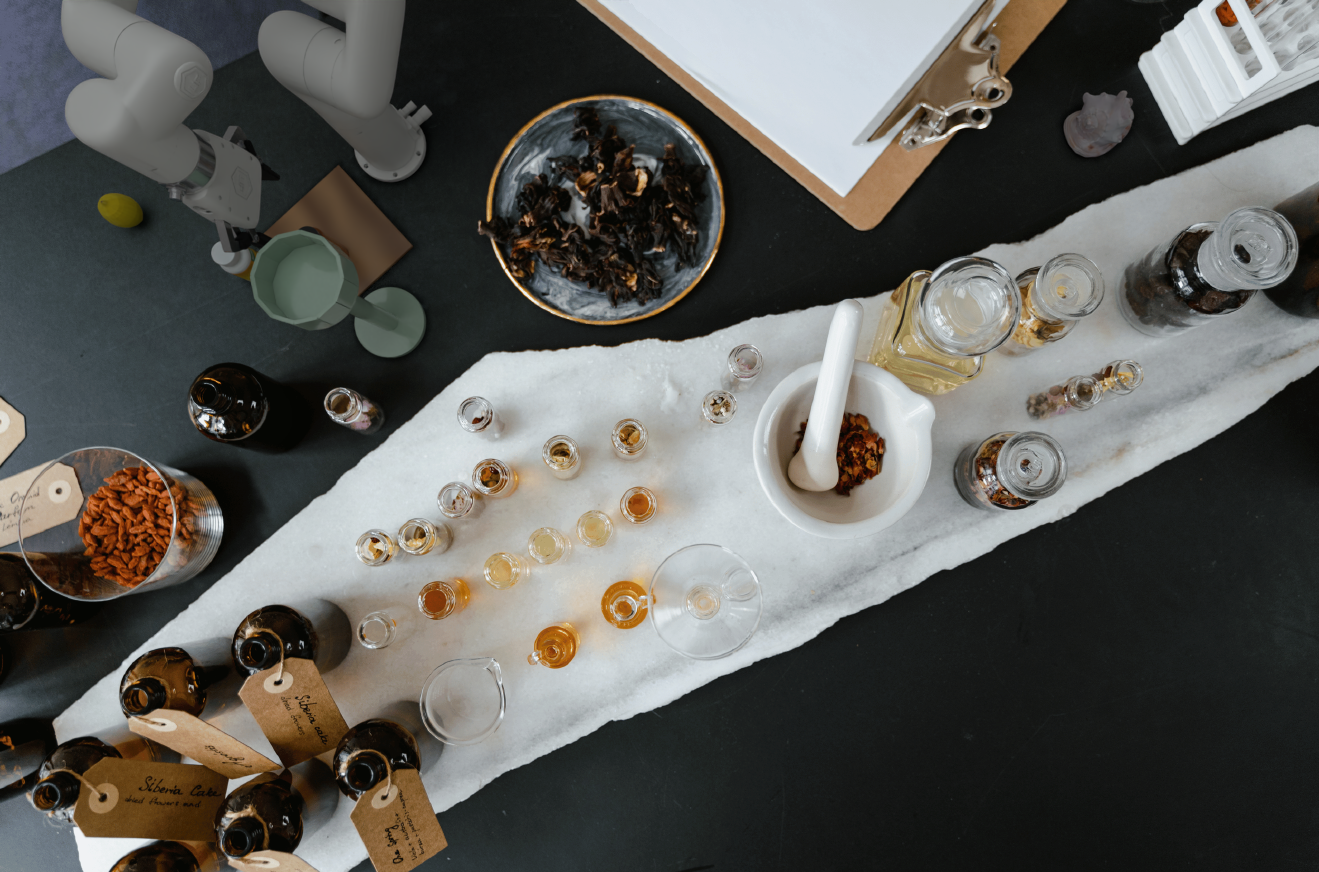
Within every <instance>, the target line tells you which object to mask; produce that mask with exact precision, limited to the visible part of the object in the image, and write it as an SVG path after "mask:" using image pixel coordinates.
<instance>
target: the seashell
mask: <svg viewBox="0 0 1319 872" xmlns="http://www.w3.org/2000/svg"><path fill="white" fill-rule="evenodd" d="M1127 95H1128V91H1127V90H1121V91H1120V92H1118V94H1117V95H1114V94H1108V93H1106V92H1105V91H1104V92H1101V93H1100V94H1097V95H1094V94H1090V93H1089V92H1085V93H1084V94H1083V95H1082V101H1083V106H1082V107H1081V109H1080V110H1076V111H1074V112H1072V113H1071V114H1070V115H1068V116H1067V117H1066V119H1065V120H1064V122H1063V133H1064V136H1065V140H1066V142H1067V144H1068V145H1069V148H1071V149H1072V151H1073V152H1074V153H1075V154H1077V155H1079V156H1081V157H1084V158H1097V157H1100V156H1103V155H1104V154H1106V153H1108V152H1109V151H1111V150H1112V149H1113V148H1114V147H1115V146H1116V145H1118V144H1120V143H1122V141H1123V140H1124V139H1125V137H1126V136H1127V135H1128V133H1130V130H1131V127H1132V124H1133V120H1134V118H1135V114H1134V111H1133V109H1132V106H1133V103H1134V100H1133V98H1132V97H1127Z"/></svg>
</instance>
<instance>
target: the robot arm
mask: <svg viewBox="0 0 1319 872" xmlns="http://www.w3.org/2000/svg"><path fill="white" fill-rule="evenodd" d="M299 1H300V2H302V3H304V4H306V5H307V6H309V7H311V8H314V9H316V10H317V11H320V12H321V13H324V14H326V15H328V16H330V17H333V18H335V19H337V20H339V21H341V22H343V23H345V32H344V31H342V30H340V29H339V28H336V27H335V26H333V25H330V24H328V23H326V22H325V21H322V20H320V19H318V18H315V17H313V16H310V15H308V14H306V13H303V12H299V11H295V10H289V9H287V10H286V9H285V10H278V11H275V12H273V13H270V14H269V15H268V16H267V17H266V18H265V19H264V20H263V21H262V23H261V25H260V27H259V30H258V35H257V46H258V51H259V56H260V57H261V60H262V63H263V64H264V66H265V68H266V69H267V70H268V72H269V74H270V75H271V76H272V77H273V78H274V79H275V80H276V81H277V82H278V83H279V84H280V85H282V86H283V87H284V88H285V89H287V90H288V91H289V92H290V93H292V94H293V95H295V96H296V97H297V98H298V99H300V100H301V101H302V102H304V103H306V105H308V106H309V107H310V109H313V110H314V112H315V113H317V114H318V115H319V116H320V117H321V118H322V119H323V120H324V121H325V122H326V123H327V124H328V125H329V126H330V127H331V128H332V129H333V130H334V131H335V132H336V133H337V134H339V135H340V136H341V137H342V139H343V140H344V141H346V143H348V145H350V146H351V147H352V148H353V149H354V155H355V159H356V161H357V164H359V166H360V168H361V169H362V170H363V171H364V173H366V174H367V175H369V176H370V177H371V178H373V179H375V180H377V181H380V182H383V183H396V182H400V181H403V180H406V179H407V178H409V177H411V176H412V175H413V174H415V173H416V172H417V171H418V170H419V168H420V167H421V166H422V164H423V162H424V160H425V157H426V153H427V141H426V135H425V134H424V131H423V129H422V128H421V125H422V124H423V123H424V122H426V121H427V120H428V119H429V118H430V117H432V116H433V113H432V111H431V110H430V109H429V107H428V106H427V105H426V104H424V105H422V106H421V107H419V109H418V110H416V109H417V108H418V106H417V104H415V103H414V102H413V101H412V100H410V101H409V102H408V103H406V104H405V106H404V107H403V108H399V109H397V108H396V107H395V106H394V105H393V104H391V99H392V97H393V93H394V88H395V83H396V76H397V70H398V64H399V63H398V62H399V57H400V50H401V45H402V44H401V43H402V37H403V29H404V23H405V14H406V0H299ZM138 5H139V0H62V2H61V9H60V10H61V11H60V26H61V32H62V36H63V40H64V43H65V45H66V47H67V49H68V50H69V52H70V53H71V55H72V56H73V57H74V58H75V59H76V60H77V61H78V62H79V63H80V64H81V65H83V66H84V67H85V68H87V69H89V70H90V71H92V72H93V73H95V74H98V75H100V76H101V77H95V78H89V79H86V80H83V81H82V82H80V83H78V84H77V85H76V86H75V87H74V88H73V89H72V90H71V91H70V92H69V94H68V96H67V99H66V101H65V104H64V105H65V106H64V116H65V121H66V124H67V126H68V128H69V130H70V131H71V133H72V134H73V135H74V136H75V138H77V139H78V140H79V141H80V142H81V143H82V144H84V145H86V147H89V148H91V149H92V150H94V151H96V152H98V153H100V154H101V155H104V156H106V157H108V158H110V159H112V160H114V161H116V162H117V163H120V164H122V165H124V166H126V167H128V168H130V169H131V170H134V171H135V172H137V173H140V174H141V175H143V176H145V177H147V178H149V179H151V180H153V181H155V182H157V184H158V185H159V186H161V187H163V188H165V189H166V190H167V193H168V195H169V197H168V199H169V201H170V200H171V201H173V202H176V203H183V204H184V205H185V206H186V207H188V208H189V209H191V210H192V211H193V212H195V213H196V214H198V215H200V216H201V217H203V218H205V219H206V220H208V221H210V222H211V223H213V224H215V226H216V229H217V234H218V237H219V242H220V241H221V245H222V249H223V251H224V252H226V253H235V252H238V251H241V250H246V249H248V248H251V246H253V247H255V248H258V249H261V248H263V247H264V246H265V245H266V244H267V243H268V242H269V241H270V240H271V239H272V238H271V237H269V236H267V235H265V234H264V233H263V232H262V231H256V229H255V228H256V227H257V226H258V225H259V221H260V213H261V197H262V196H261V195H262V181H263V182H264V181H265V182H267V181H268V182H270V181H271V182H279V181H280V180H281V175H280V174H278V172H276V171H275V170H272V168H271V167H270V166H269V165H267V164H266V163H264V161H263V158H262V156H261V155H258V154H257V151H256V149H255V148H254V144H253V143H252V140H250V139H248V138H247V135H246V134H245V132H244V131H243V129H242V127H241V126H240V125H229V126H228V127H227V128H226V130H225V133H224V135H223V136H222V137H221V136H219V135H217V134H214V133H211V132H209V131H206V130H204V129H197V128H195V129H191V128H190V127H188V126H186V124H184V123H183V122H184V121H185V120H186V119H187V118H188V117H189V116H190V115H191V114H192V113H193V112H194V111H195V109H197V107H198V106H199V105H200V104H201V103H202V102H203V101H204V99H205V98H206V97H207V95H208V93H209V92H210V90H211V88H212V84H213V81H214V69H213V65H212V63H211V61H210V58H209V57H208V55H207V54H206V53H205V52H204V50H203V49H201V48H200V47H199V46H198V45H196V44H195V43H194V42H192V41H190V40H189V39H187V38H184V37H183V36H181V35H178V34H177V33H175V32H172V31H171V30H168V29H167V28H164V27H162V26H160V25H158V24H157V23H154V22H152V21H150V20H148V19H146V18H144V17H142V16H139V15H138V14H136V13H137V10H138ZM102 77H103V78H102ZM415 110H416V112H415V113H414V114H413V115H412V116H411V115H410V114H411V113H413V112H414V111H415ZM240 228H242V229H244V231H241V229H240Z"/></svg>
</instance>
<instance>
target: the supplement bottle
mask: <svg viewBox="0 0 1319 872" xmlns="http://www.w3.org/2000/svg"><path fill="white" fill-rule="evenodd" d="M210 253H211V259H212V260H213V261H214V263H216V264H217V265H219V266H220V268H221V269H222V270H224V272H227V273H229V274H230V275H234V276H236V277H239V278H241V279H243V280H245V281H248V282H250V283H251V280H250V276H251V275H250V273H251V270H252V267H253V264H254V261H255V258H256V255H257V253H259V252H258V251H257V250H255V249H253V248H251V247H249V248H248V249H246V250H241V251H238V252H235V253H226V252H224V251H223V249H222V245H221V241H220V240H219V241H218V242H216V243H215V244H214V245H213V246H212V248H211V252H210Z"/></svg>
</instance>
